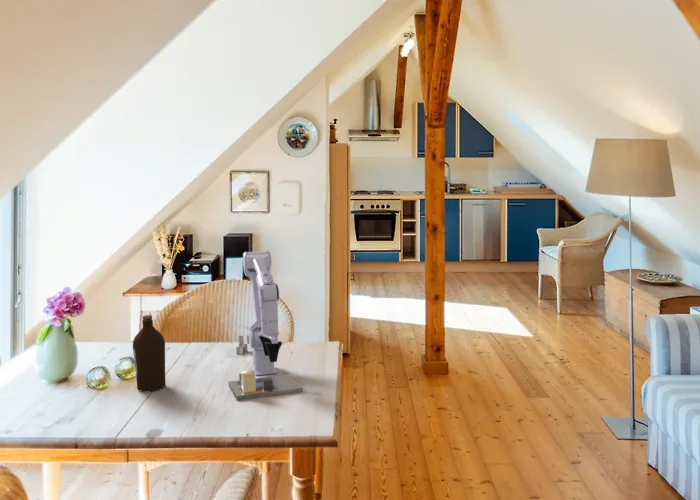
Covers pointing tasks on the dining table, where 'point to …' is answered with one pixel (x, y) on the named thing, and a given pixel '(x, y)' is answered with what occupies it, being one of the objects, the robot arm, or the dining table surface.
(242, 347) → the architectural model
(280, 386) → the panel
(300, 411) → the dining table surface
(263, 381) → the breaker tagged
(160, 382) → the olive oil
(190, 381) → the dining table surface
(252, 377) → the cap
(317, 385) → the dining table surface
